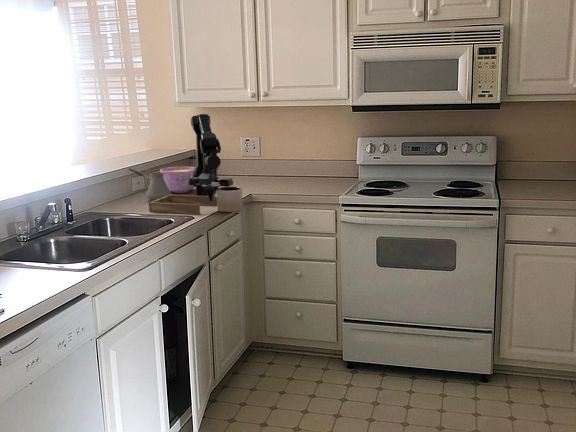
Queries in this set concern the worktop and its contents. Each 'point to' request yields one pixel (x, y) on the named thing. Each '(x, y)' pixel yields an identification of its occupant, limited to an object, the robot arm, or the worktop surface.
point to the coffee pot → (155, 186)
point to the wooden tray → (181, 204)
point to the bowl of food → (178, 178)
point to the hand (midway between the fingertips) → (211, 201)
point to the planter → (229, 199)
